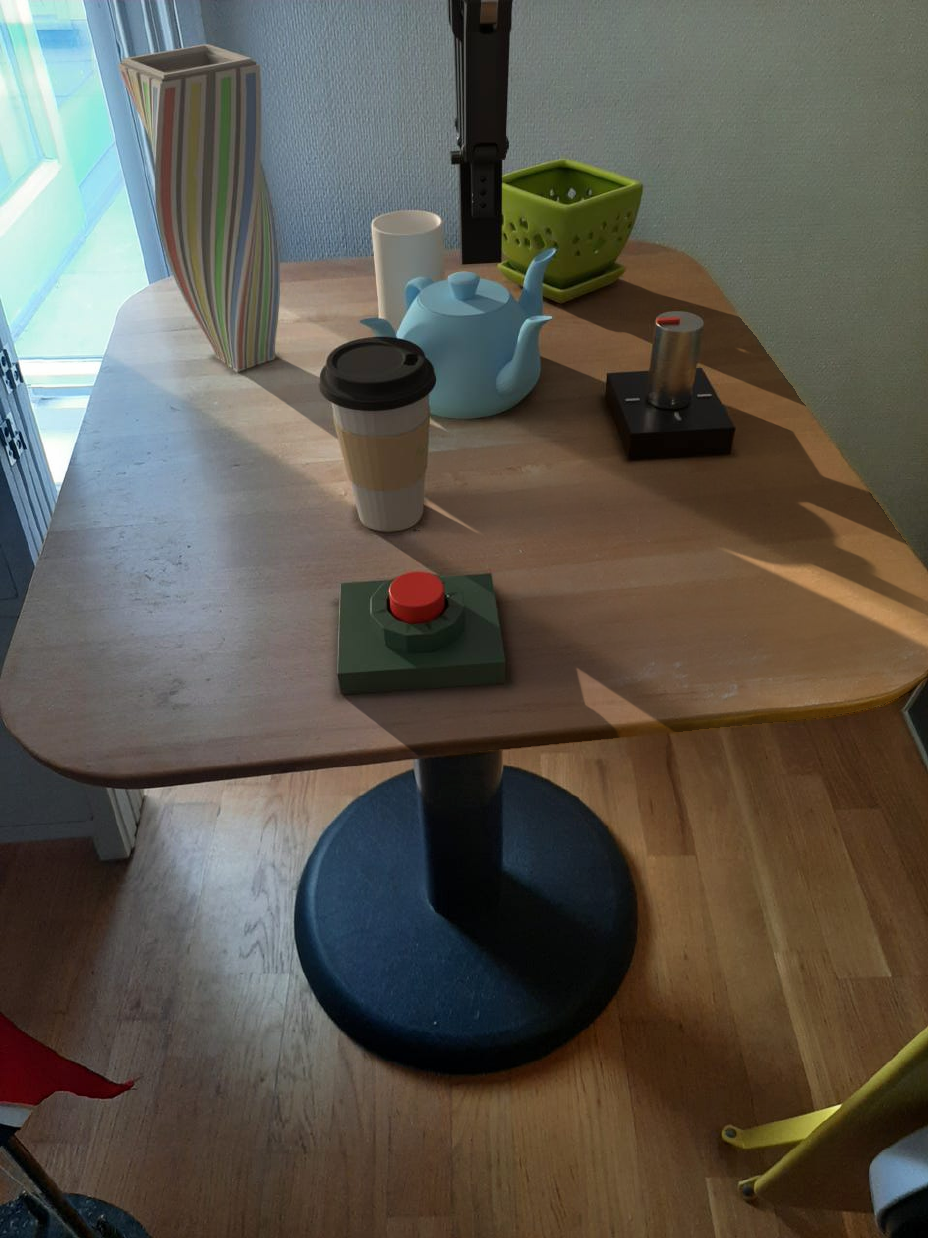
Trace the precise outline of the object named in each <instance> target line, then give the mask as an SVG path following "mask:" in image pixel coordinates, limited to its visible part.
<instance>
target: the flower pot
mask: <svg viewBox="0 0 928 1238" xmlns="http://www.w3.org/2000/svg"><path fill="white" fill-rule="evenodd" d="M571 189H572V190H573V191H574V192H575V194H574V196H573V197H572V198H571V196H569V192H570V190H571ZM643 192H644V183H642V182H641V181H639V180H635V179H633V178H630V177H627V176H625V175H621V174H618V173H616V172H612V171H609V170H606V169H603V168H599V167H597V166H593V165H590V164H586V163H583V162H580V161H576V160H572V159H568V158H560V159H554V160H552V161H551V160H550V161H548V162H543V163H540V164H537V165H533V166H529V167H525V168H523V169H522V168H521V169H519V170H515V171H513V172H508V173H507V174H504V175H503V174H502V253H503V255H504V257H505V259H506V260H504V261H502V263H497V268H498V270H499V272H500V274H501V275H502V276H503V277H504V278H505V279H506V280H509V281H510V282H512V283H513V284H516V285H518V286H519V287H522V288H523V285H524V280H525V276H526V273H527V270H528V268H529V266H530V264H531V262H532V261H533V260H534V258H535V257H537V256H538V255H539V254H540V253H542V252H543V251H545V250H548V249H551V248H555V249H556V252H555V254H554V256H553V257H552V258H551V260H550V262H549V263H548V265H547V267H546V270H545V272H544V277H543V287H542V292H543V298H545V299H546V298H547V299H549V300H551V301H553V302H556V303H558V304H565V303H566V302H569V301H572V300H574V299H576V298H579V297H582V296H584V295H587V294H588V293H592V292H594V291H596V290H600V289H602V288H604V287H606V286H607V287H609V286H610V285H611V284H613V283H615V282H616V281H617V280H618V279H619V278H620V277H622V275H624V273H625V271H626V270H627V267H626V266H625V265H623V264H621V263H619V262H616V261H617V259H618V257H620V255H621V253H622V251H623V250H624V249H625V247H626V245H627V242H628V240H629V238H630V236H631V233H632V232H633V229H634V226H635V224H636V220H637V217H638V214H639V210H640V207H641V206H640V205H641V202H642V197H643ZM582 199H583V200H582Z"/></svg>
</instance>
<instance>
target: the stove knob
mask: <svg viewBox="0 0 928 1238" xmlns="http://www.w3.org/2000/svg"><path fill="white" fill-rule="evenodd" d="M704 323H705V322H704V320H703V318H701V317H700V316H699V315H697V314H695V313H692V312H688V311H682V310H681V311H680V310H674V311H673V310H672V311H665V312H663V313H660V314H659V315H657V316H656V318H655V322H654V329H653V337H652V346H651V353H650V359H649V370H648V371H649V376H648V384H647V392H646V399H647V401H648V402H649V403H650V404H652V405H654V406H656V407H659V408H663V409H680V408H683V407H685V406H687V405H688V404H689V403H690V402H691V398H692V392H693V386H694V380H695V373H696V368H698V367H697V366H698V361H699V355H700V349H701V341H702V336H703V329H704Z"/></svg>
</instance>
